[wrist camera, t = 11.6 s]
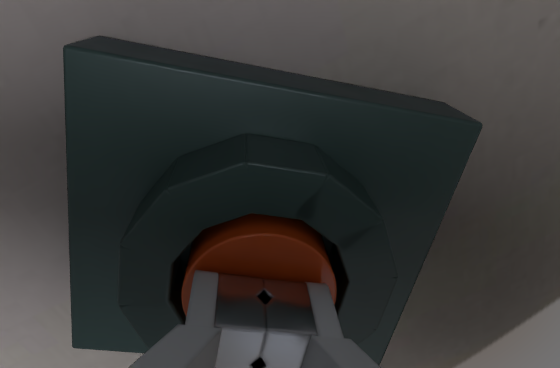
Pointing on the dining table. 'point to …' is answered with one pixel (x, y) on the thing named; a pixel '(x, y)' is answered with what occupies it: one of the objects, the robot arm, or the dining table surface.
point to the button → (260, 252)
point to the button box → (243, 182)
